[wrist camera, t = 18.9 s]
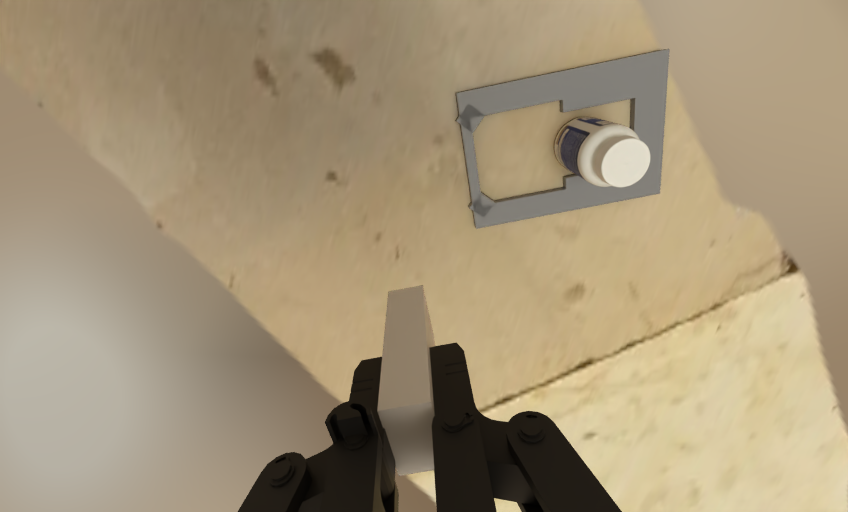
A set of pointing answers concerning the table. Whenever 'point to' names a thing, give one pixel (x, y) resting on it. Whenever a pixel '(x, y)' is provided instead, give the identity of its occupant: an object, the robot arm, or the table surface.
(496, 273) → the table surface
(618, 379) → the table surface
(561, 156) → the pill bottle
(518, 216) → the keyhole board
